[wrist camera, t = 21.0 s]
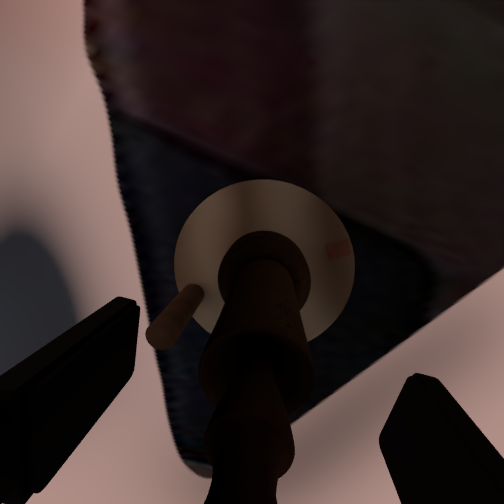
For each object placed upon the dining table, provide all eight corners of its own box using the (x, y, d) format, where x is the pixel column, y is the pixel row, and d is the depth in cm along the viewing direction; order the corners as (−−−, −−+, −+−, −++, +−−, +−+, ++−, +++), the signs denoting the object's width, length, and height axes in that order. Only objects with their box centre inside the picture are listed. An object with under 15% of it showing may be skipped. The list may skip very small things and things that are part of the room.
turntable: (322, 152, 18) (354, 127, 11) (367, 318, 21) (416, 386, 14) (154, 215, 20) (88, 229, 13) (216, 356, 23) (189, 433, 16)
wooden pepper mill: (325, 277, 19) (987, 1394, 1) (261, 325, 20) (191, 1164, 3) (268, 211, 18) (93, 969, 1) (205, 266, 19) (-388, 950, 2)
